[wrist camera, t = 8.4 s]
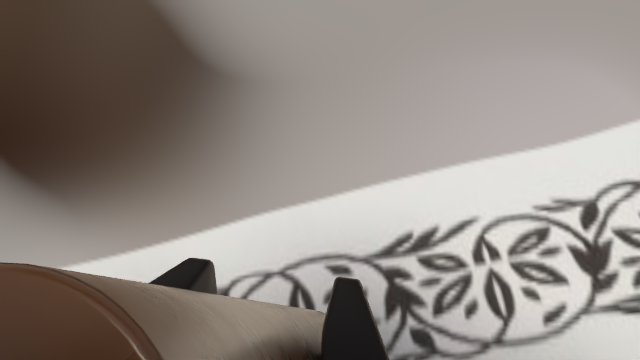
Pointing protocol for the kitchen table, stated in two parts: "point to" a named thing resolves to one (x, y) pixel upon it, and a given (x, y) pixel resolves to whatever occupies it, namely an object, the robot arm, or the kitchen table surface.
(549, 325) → the kitchen table surface
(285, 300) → the kitchen table surface
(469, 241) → the kitchen table surface
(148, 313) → the stirring stick
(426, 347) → the kitchen table surface
